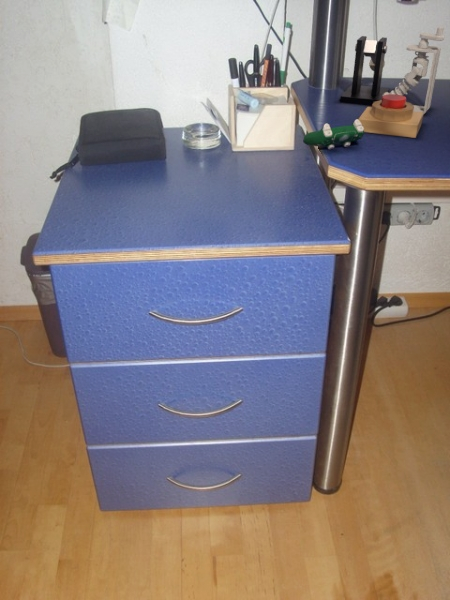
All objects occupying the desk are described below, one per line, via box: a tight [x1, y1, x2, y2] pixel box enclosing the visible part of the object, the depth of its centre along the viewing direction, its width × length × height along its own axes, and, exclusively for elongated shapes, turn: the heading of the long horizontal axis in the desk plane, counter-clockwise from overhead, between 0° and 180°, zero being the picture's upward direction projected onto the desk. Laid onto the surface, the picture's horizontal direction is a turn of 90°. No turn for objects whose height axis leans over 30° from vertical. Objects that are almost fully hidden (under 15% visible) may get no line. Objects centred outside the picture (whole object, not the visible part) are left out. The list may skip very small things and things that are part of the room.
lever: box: [364, 39, 386, 72], centre depth 122 cm, size 14×3×3 cm, turn 158°
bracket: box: [339, 35, 390, 106], centre depth 119 cm, size 10×8×11 cm
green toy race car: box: [302, 118, 365, 150], centre depth 96 cm, size 9×4×6 cm
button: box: [381, 94, 407, 109], centre depth 103 cm, size 4×4×2 cm
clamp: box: [383, 26, 445, 115], centre depth 111 cm, size 4×10×15 cm, turn 62°
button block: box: [358, 100, 425, 139], centre depth 104 cm, size 10×8×4 cm
